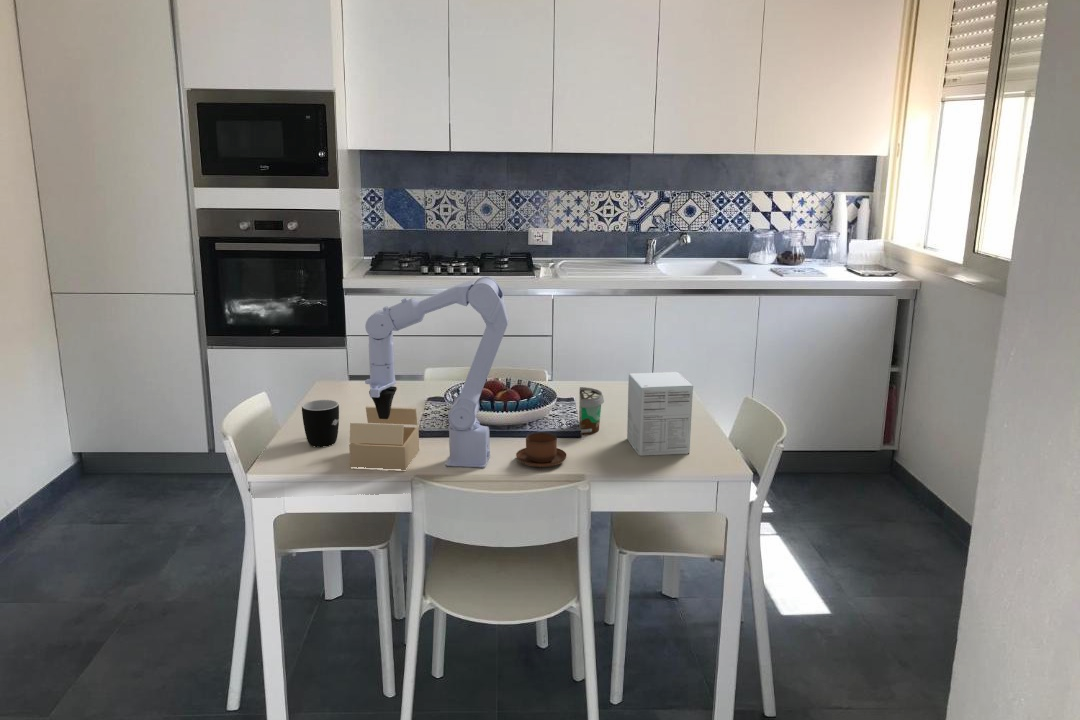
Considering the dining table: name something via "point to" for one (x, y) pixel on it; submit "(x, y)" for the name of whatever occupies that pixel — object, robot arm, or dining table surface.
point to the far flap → (393, 416)
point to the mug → (321, 422)
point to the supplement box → (659, 413)
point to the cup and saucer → (541, 451)
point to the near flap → (376, 433)
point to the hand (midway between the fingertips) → (384, 418)
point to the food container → (590, 410)
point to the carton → (386, 452)
